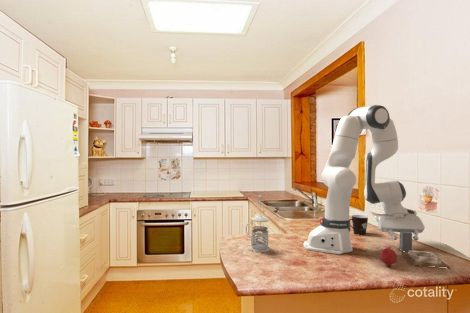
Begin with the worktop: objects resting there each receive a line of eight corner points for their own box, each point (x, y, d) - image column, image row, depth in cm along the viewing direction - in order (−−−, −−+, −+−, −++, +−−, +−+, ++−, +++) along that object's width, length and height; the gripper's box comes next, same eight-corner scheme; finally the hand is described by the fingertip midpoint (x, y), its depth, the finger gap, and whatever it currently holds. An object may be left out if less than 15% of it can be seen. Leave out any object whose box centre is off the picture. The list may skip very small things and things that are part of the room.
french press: (269, 252, 127) (270, 197, 128) (244, 250, 130) (244, 196, 130) (271, 246, 137) (271, 194, 137) (247, 244, 139) (248, 193, 140)
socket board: (412, 265, 114) (412, 258, 114) (401, 254, 127) (401, 248, 127) (449, 269, 111) (449, 261, 111) (435, 257, 124) (435, 251, 124)
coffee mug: (364, 232, 166) (364, 215, 166) (370, 236, 158) (370, 218, 158) (344, 231, 167) (344, 214, 168) (348, 235, 159) (348, 217, 159)
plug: (402, 252, 131) (402, 232, 131) (399, 249, 135) (399, 230, 135) (412, 253, 130) (412, 233, 130) (409, 250, 134) (409, 231, 134)
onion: (388, 269, 110) (388, 248, 110) (377, 264, 115) (377, 244, 115) (400, 268, 111) (400, 247, 111) (388, 263, 117) (388, 243, 117)
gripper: (376, 210, 141) (385, 235, 131) (419, 211, 139) (431, 236, 129) (372, 217, 145) (380, 242, 135) (414, 218, 144) (425, 243, 134)
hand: (405, 239), depth 132 cm, fingers open, 8 cm apart
